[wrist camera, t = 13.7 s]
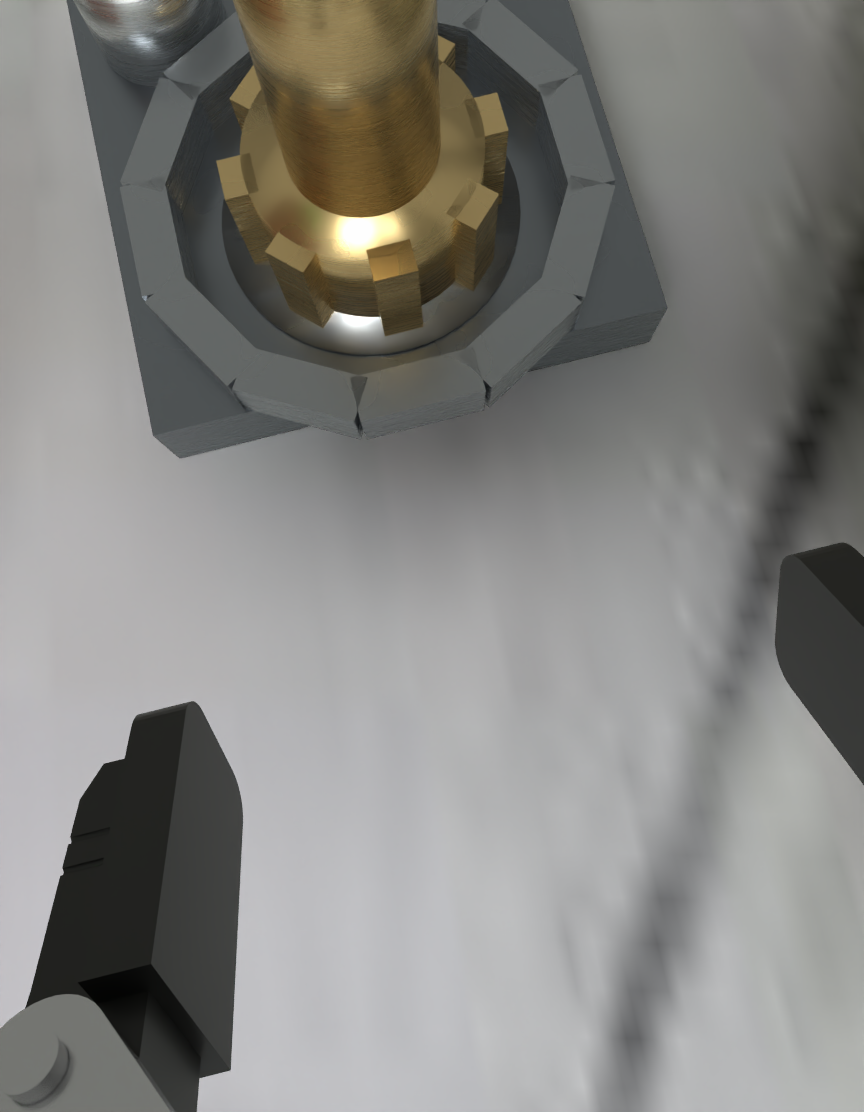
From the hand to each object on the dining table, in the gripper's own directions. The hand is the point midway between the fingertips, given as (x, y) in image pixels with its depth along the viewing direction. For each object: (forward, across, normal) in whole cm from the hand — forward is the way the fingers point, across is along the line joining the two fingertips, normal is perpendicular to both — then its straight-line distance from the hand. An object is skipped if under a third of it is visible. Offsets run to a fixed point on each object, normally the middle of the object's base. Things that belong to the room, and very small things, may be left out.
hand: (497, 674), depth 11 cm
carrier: (+15, 0, -4) cm, 15 cm away
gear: (+12, 0, -4) cm, 13 cm away
